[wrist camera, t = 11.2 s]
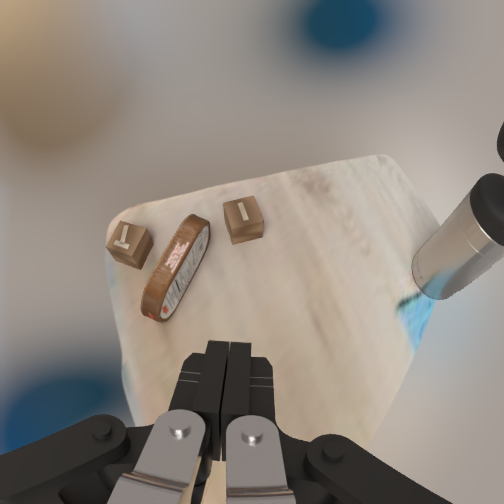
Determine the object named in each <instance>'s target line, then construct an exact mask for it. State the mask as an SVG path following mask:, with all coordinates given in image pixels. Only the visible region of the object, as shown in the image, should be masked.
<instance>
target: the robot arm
mask: <svg viewBox="0 0 504 504" xmlns="http://www.w3.org/2000/svg"><path fill="white" fill-rule="evenodd" d="M497 151H498V154H499V156H500V157H501V159H502V161H503V162H504V123H503V125H502V127H501V129H500V132H499V135H498V139H497ZM503 256H504V176H502V175H500V174H495V173H490V174H486V175H484V176H483V177H481V178H480V179H479V180H478V181H477V183H476V184H475V185H474V187H473V188H472V189H471V191H470V192H469V193H468V195H467V196H466V197H465V198H464V199H463V201H462V202H461V203H460V204H459V206H458V207H457V208H456V209H455V210H454V211H453V213H452V214H451V215H450V216H449V217H448V219H447V220H446V221H445V222H444V223H443V224H442V225H441V227H440V228H439V229H438V230H437V231H436V232H435V233H434V235H433V236H432V237H431V238H430V239H429V240H428V241H427V242H426V243H425V244H424V246H423V247H422V248H421V249H420V250H419V251H418V252H417V253H416V255H415V256H414V259H413V262H412V272H413V276H414V279H415V281H416V284H417V285H418V287H419V288H420V289H421V290H422V291H423V293H425V294H426V295H427V296H429V297H431V298H433V299H437V300H443V299H447V298H449V297H450V296H452V295H453V294H454V293H456V292H457V291H460V290H461V289H463V288H464V287H465V286H467V285H468V284H469V283H471V282H472V281H473V280H475V279H476V278H478V277H479V276H480V275H482V274H483V273H484V272H486V271H487V270H488V269H489V268H491V267H492V265H494V264H495V263H496V262H497V261H499V260H500V259H501V258H502V257H503ZM229 347H230V351H229ZM221 447H222V461H226V504H452V503H451V502H449V501H447V500H445V499H444V498H442V497H440V496H438V495H437V494H435V493H433V492H431V491H429V490H428V489H426V488H424V487H423V486H421V485H419V484H418V483H416V482H414V481H413V480H411V479H409V478H408V477H406V476H405V475H403V474H401V473H400V472H398V471H396V470H395V469H393V468H392V467H390V466H389V465H387V464H386V463H384V462H382V461H381V460H379V459H378V458H376V457H375V456H373V455H372V454H370V453H369V452H367V451H366V450H364V449H363V448H361V447H360V446H359V445H357V444H356V443H354V442H353V441H351V440H350V439H348V438H346V437H344V436H341V435H336V434H327V435H322V436H319V437H317V438H315V439H314V440H312V441H311V442H307V441H303V440H298V439H295V438H292V437H290V436H288V435H286V434H285V433H283V432H282V431H281V430H280V429H279V427H278V426H277V424H276V421H275V406H274V388H273V369H272V366H271V364H270V363H269V361H268V360H267V359H266V358H265V357H251V343H244V342H231V344H230V345H229V342H226V341H212V340H209V341H208V344H207V348H206V352H205V354H201V353H192V354H191V355H190V356H189V357H188V358H187V359H186V360H185V361H184V363H183V366H182V369H181V373H180V375H179V378H178V381H177V385H176V388H175V391H174V394H173V397H172V400H171V403H170V406H169V410H168V412H165V413H164V414H162V415H161V416H159V418H158V419H157V420H156V422H155V424H152V425H149V426H143V427H128V428H126V427H125V425H124V423H123V422H122V421H120V419H118V418H116V417H114V416H111V415H105V414H101V415H95V416H92V417H90V418H88V419H85V420H83V421H81V422H79V423H77V424H74V425H72V426H70V427H68V428H66V429H63V430H61V431H59V432H56V433H54V434H52V435H50V436H47V437H45V438H43V439H40V440H38V441H35V442H33V443H31V444H28V445H26V446H23V447H21V448H18V449H16V450H13V451H11V452H8V453H5V454H3V455H0V504H204V500H205V496H206V492H207V488H208V484H209V475H210V472H211V466H212V460H215V461H220V455H221Z"/></svg>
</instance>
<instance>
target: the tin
mask: <svg viewBox="0 0 504 504" xmlns="http://www.w3.org/2000/svg"><path fill="white" fill-rule="evenodd" d="M209 239H210V222H209V221H207V220H205V219H203V218H200V217H198V216H196V215H195V214H191V215H189V216H188V217H187V218H186V219H185V220H184V221H183V222H182V223H181V225H180V227H179V228H178V230H177V231H176V233H175V235H174V236H173V238H172V240H171V241H170V243H169V245H168V246H167V248H166V250H165V252H164V253H163V255H162V257H161V258H160V260H159V262H158V263H157V265H156V267H155V269H154V270H153V272H152V274H151V276H150V277H149V279H148V282H147V284H146V286H145V289H144V292H143V296H142V300H141V312H142V314H143V315H144V316H148V317H150V318H152V319H153V320H155V321H158V322H164V321H166V320H167V319H168V318H169V317H170V316H171V315H172V314H173V312H174V311H175V309H176V307H177V306H178V304H179V302H180V300H181V298H182V296H183V295H184V293H185V291H186V289H187V287H188V285H189V283H190V281H191V280H192V278H193V276H194V274H195V272H196V270H197V268H198V266H199V264H200V262H201V260H202V258H203V256H204V254H205V251H206V249H207V246H208V243H209Z"/></svg>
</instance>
